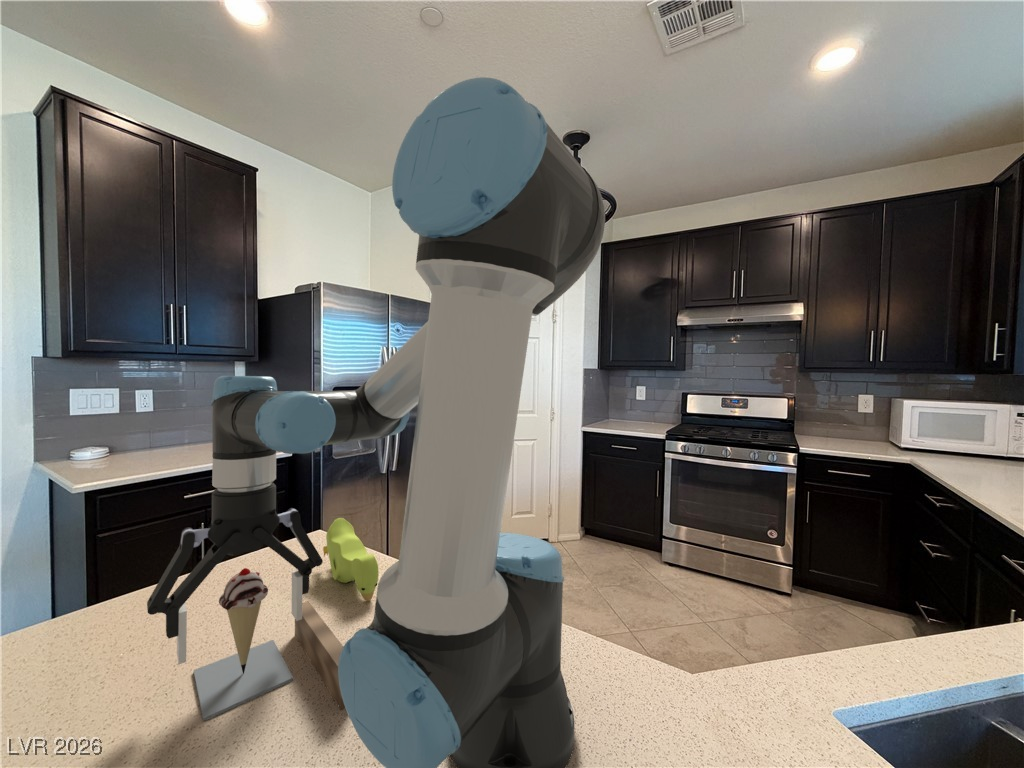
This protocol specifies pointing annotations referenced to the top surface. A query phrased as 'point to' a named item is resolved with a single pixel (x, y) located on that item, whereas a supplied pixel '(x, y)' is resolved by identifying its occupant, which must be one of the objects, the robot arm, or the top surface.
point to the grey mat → (240, 679)
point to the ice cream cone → (243, 608)
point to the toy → (351, 558)
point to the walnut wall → (320, 649)
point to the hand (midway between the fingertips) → (243, 635)
